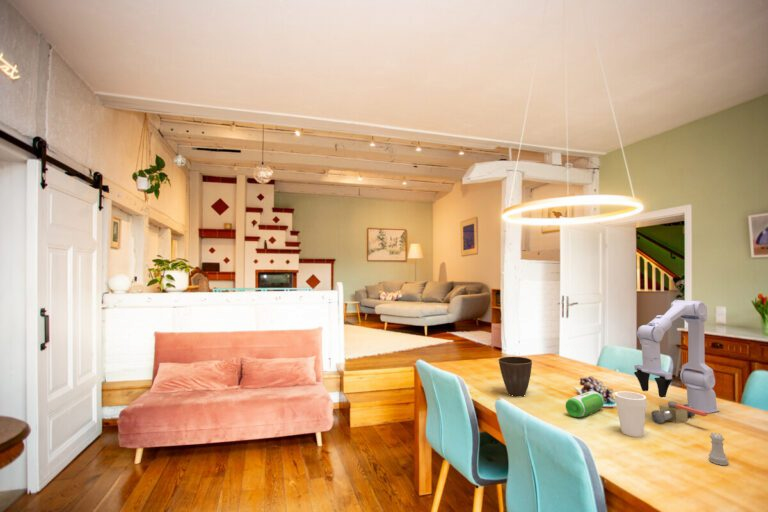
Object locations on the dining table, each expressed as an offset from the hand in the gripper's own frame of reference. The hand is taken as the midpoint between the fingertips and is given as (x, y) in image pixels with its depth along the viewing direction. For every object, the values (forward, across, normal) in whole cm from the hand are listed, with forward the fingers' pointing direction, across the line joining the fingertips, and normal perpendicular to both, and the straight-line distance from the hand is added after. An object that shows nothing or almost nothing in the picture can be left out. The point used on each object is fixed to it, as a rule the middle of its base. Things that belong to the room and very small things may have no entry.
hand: (653, 393), depth 145 cm
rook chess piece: (+10, +30, -9) cm, 33 cm away
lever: (+5, +5, +8) cm, 11 cm away
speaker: (+10, -14, -19) cm, 25 cm away
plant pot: (+10, -42, -34) cm, 54 cm away
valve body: (+10, 0, +8) cm, 13 cm away
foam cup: (+10, +7, -17) cm, 21 cm away
